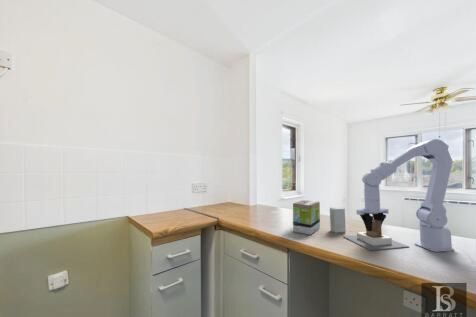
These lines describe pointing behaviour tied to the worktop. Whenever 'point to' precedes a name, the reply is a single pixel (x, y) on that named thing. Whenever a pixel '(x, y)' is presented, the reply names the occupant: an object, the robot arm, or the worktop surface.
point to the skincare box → (337, 219)
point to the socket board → (375, 242)
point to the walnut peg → (375, 229)
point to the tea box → (306, 216)
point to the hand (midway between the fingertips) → (373, 230)
